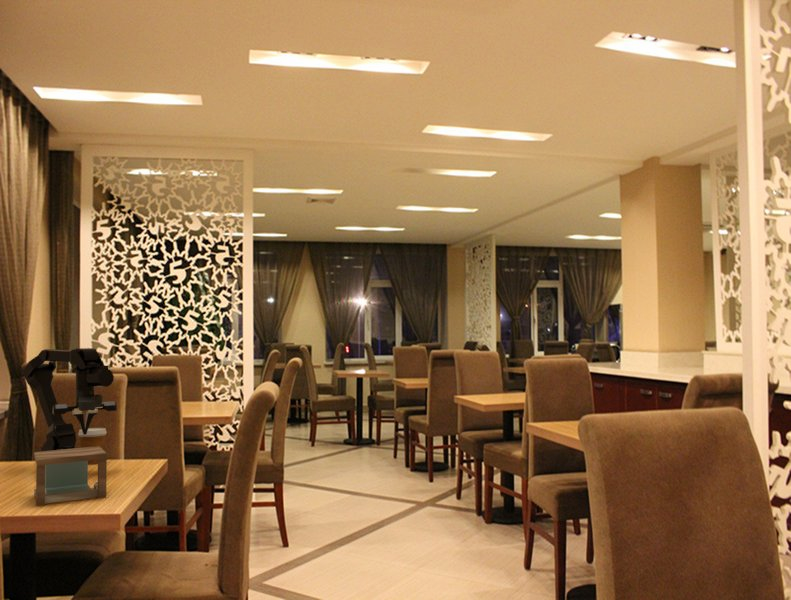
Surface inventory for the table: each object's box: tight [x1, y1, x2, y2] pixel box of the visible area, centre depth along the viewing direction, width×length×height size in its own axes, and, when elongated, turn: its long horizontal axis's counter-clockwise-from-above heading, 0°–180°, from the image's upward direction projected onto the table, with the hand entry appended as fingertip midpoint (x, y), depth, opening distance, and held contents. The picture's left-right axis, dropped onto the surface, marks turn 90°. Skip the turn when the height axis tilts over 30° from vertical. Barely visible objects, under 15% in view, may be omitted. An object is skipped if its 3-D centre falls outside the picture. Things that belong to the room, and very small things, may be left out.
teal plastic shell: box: [45, 461, 92, 495], centre depth 188 cm, size 14×11×9 cm
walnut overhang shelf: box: [33, 446, 108, 507], centre depth 185 cm, size 16×17×12 cm
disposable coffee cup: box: [77, 427, 108, 466], centre depth 239 cm, size 10×10×12 cm
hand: (84, 434), depth 217 cm, fingers closed
